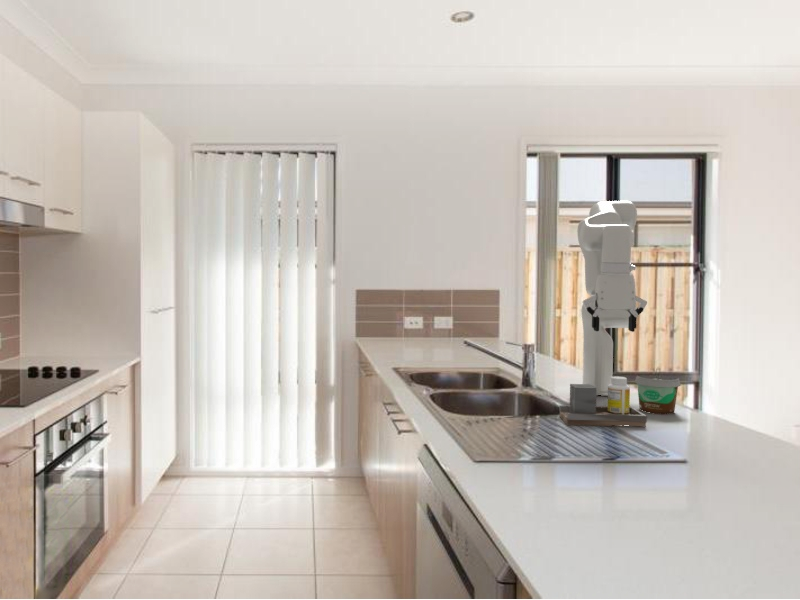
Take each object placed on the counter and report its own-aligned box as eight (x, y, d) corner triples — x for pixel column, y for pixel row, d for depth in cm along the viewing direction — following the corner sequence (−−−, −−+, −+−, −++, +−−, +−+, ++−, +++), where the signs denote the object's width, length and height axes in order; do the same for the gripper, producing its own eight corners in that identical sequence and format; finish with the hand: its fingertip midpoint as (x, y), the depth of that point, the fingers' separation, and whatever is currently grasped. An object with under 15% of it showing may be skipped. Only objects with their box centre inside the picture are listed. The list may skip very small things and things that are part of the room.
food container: (631, 412, 173) (632, 377, 173) (634, 408, 179) (635, 374, 178) (678, 417, 167) (679, 381, 167) (679, 413, 173) (680, 378, 173)
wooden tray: (559, 415, 167) (559, 382, 167) (632, 417, 166) (633, 383, 166) (567, 425, 156) (568, 389, 156) (646, 427, 155) (647, 390, 155)
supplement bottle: (624, 413, 164) (625, 376, 163) (632, 418, 158) (633, 379, 158) (604, 412, 164) (605, 375, 163) (611, 417, 158) (612, 379, 158)
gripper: (642, 269, 169) (640, 329, 171) (580, 269, 170) (579, 328, 172) (652, 270, 162) (650, 333, 163) (587, 269, 163) (585, 332, 164)
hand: (613, 330), depth 167 cm, fingers open, 9 cm apart
